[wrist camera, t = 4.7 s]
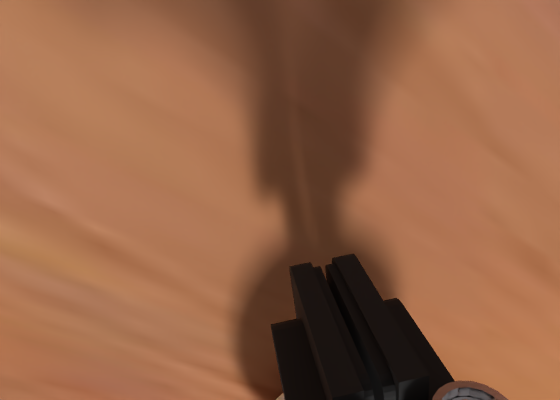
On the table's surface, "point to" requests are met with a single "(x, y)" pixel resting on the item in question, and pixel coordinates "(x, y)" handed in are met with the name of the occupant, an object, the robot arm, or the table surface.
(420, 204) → the table surface
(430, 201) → the table surface
